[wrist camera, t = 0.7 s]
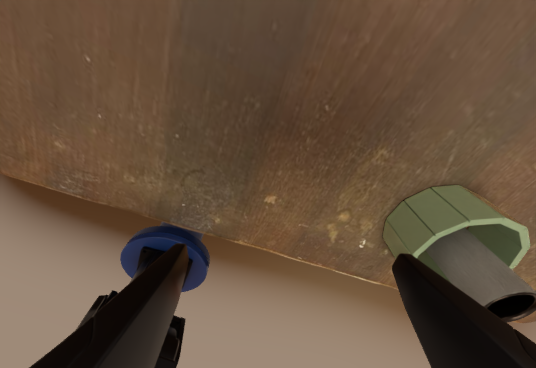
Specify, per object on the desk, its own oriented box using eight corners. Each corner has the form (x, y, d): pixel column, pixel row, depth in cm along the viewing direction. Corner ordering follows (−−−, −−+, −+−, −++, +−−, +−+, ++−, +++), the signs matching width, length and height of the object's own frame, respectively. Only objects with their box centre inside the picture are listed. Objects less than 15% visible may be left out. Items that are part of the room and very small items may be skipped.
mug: (392, 190, 24) (422, 224, 19) (497, 181, 23) (554, 213, 19) (374, 270, 31) (393, 309, 26) (455, 265, 31) (489, 304, 26)
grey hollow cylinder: (459, 213, 26) (558, 298, 17) (434, 240, 28) (510, 327, 19) (425, 205, 25) (510, 289, 16) (403, 233, 27) (466, 320, 19)
